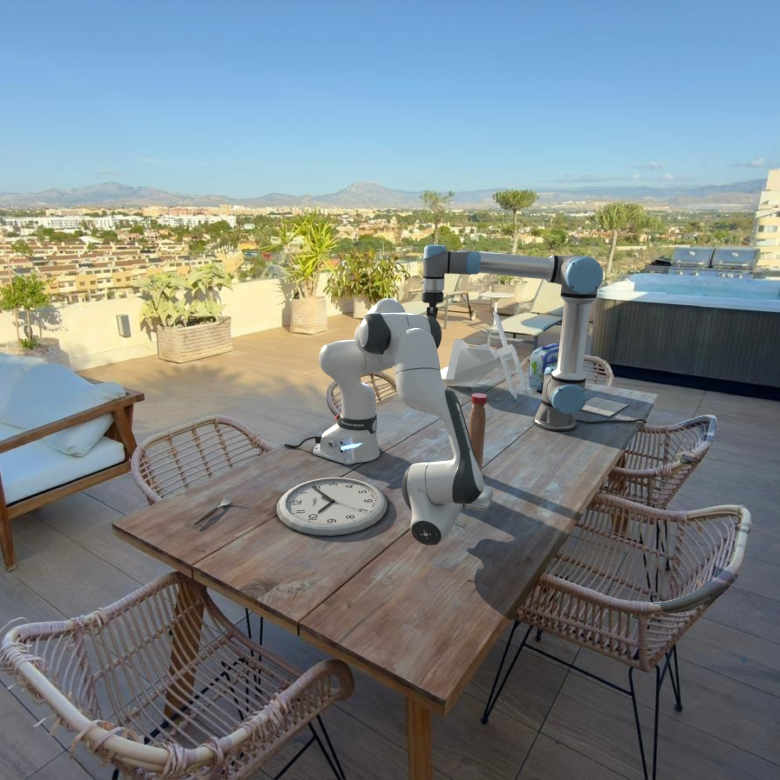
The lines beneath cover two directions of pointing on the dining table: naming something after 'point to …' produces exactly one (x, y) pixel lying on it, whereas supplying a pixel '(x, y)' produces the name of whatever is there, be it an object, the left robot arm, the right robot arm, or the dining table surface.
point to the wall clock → (331, 506)
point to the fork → (223, 503)
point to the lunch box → (542, 364)
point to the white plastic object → (482, 362)
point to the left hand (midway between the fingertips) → (459, 478)
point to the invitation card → (603, 406)
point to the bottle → (477, 431)
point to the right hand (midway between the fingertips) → (430, 350)
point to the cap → (479, 398)
